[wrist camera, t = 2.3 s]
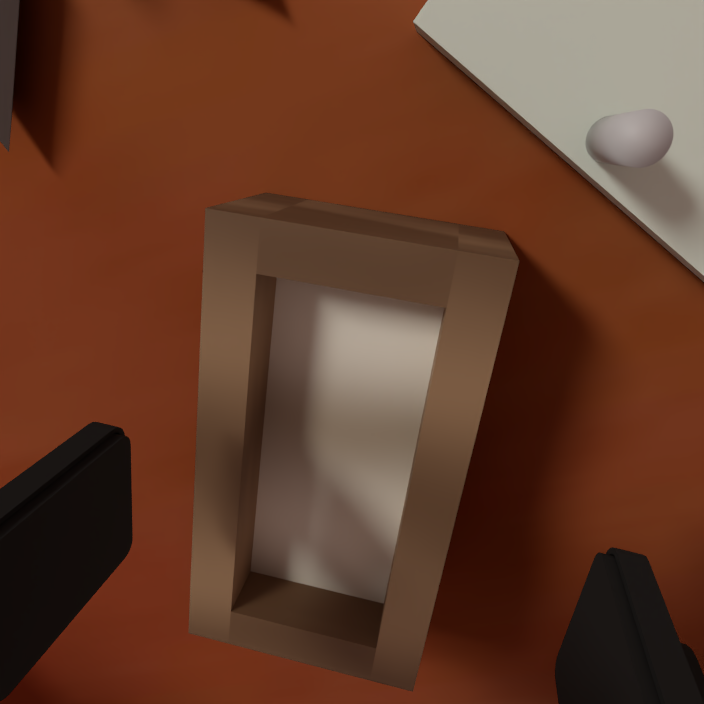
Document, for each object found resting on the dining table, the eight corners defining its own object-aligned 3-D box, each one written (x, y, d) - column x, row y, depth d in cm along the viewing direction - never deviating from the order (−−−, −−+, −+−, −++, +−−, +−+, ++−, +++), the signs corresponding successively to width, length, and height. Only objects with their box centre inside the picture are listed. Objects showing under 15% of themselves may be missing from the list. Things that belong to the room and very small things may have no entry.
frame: (421, 585, 19) (412, 691, 15) (238, 542, 20) (188, 633, 16) (504, 231, 15) (519, 261, 11) (265, 192, 16) (205, 208, 12)
